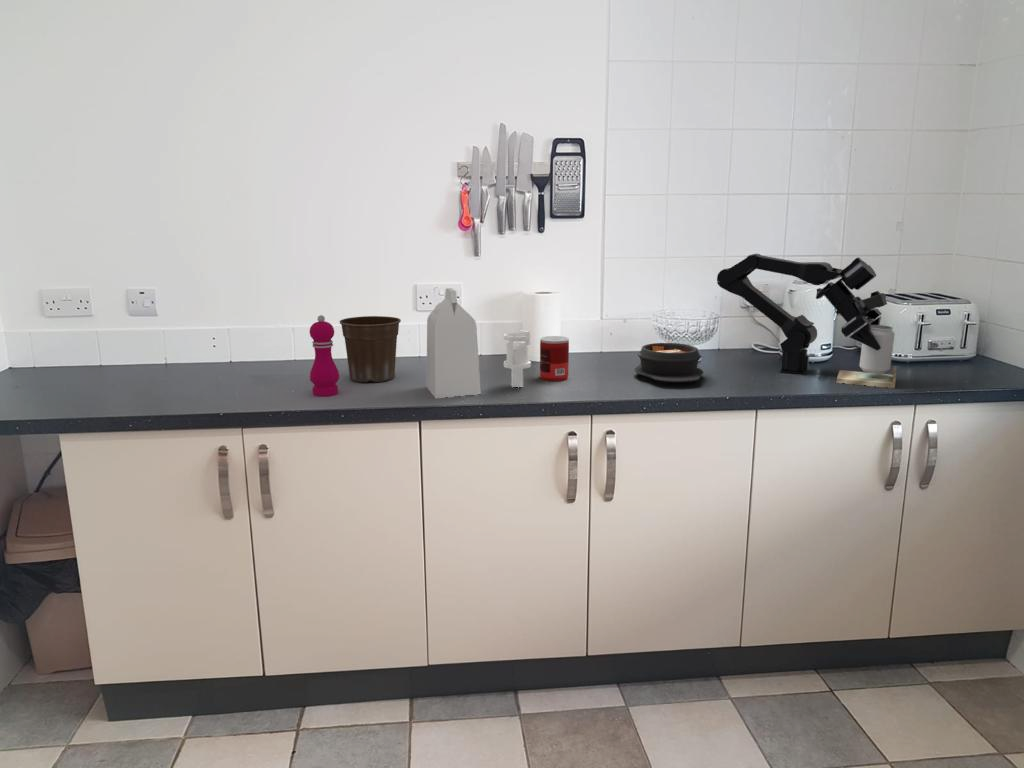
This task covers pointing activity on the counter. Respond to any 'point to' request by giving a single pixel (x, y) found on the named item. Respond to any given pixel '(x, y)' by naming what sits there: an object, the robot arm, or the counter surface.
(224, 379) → the counter surface
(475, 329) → the milk
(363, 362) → the plant pot
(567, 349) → the canned food
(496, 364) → the counter surface
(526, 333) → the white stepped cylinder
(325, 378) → the pepper mill
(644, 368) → the casserole
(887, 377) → the rack board
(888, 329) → the can
